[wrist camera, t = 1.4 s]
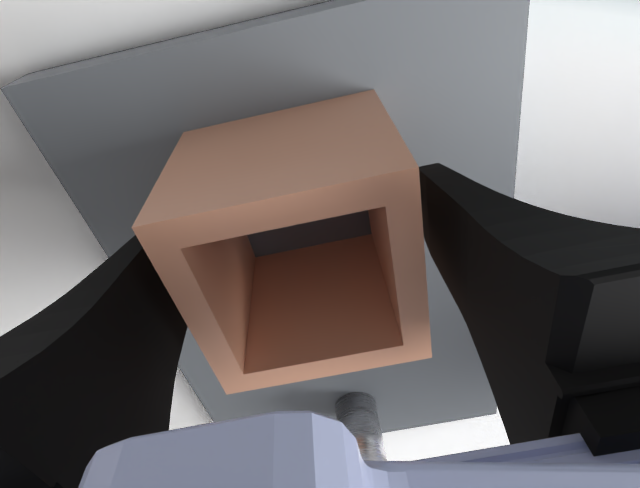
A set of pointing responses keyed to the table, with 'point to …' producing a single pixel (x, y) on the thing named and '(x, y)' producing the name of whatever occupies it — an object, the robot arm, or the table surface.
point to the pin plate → (287, 92)
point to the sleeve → (300, 264)
